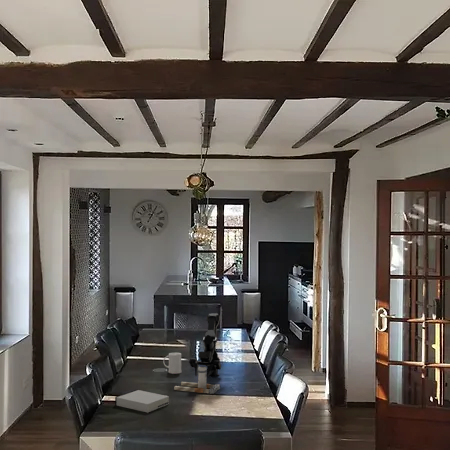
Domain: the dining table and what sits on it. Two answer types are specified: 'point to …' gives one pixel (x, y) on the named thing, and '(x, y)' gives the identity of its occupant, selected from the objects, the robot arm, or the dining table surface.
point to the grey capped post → (202, 377)
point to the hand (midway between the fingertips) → (201, 376)
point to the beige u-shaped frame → (201, 390)
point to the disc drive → (141, 400)
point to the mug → (174, 363)
